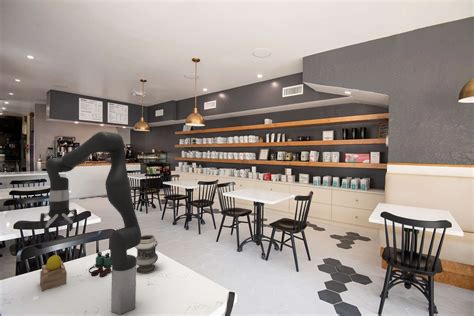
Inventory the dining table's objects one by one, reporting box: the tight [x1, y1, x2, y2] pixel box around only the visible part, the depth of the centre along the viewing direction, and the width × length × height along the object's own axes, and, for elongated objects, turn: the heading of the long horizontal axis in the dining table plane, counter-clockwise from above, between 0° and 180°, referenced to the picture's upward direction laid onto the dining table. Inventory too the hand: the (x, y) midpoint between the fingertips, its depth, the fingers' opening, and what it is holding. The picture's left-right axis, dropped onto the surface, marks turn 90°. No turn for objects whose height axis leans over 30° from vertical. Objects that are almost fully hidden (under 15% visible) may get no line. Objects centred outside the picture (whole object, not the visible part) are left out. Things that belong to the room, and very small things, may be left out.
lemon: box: [45, 254, 62, 271], centre depth 111 cm, size 6×6×8 cm
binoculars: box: [88, 251, 112, 278], centre depth 121 cm, size 9×11×10 cm
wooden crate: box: [39, 260, 68, 293], centre depth 111 cm, size 9×9×8 cm
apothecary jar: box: [134, 234, 159, 274], centre depth 128 cm, size 12×12×18 cm
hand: (59, 232), depth 111 cm, fingers open, 8 cm apart
